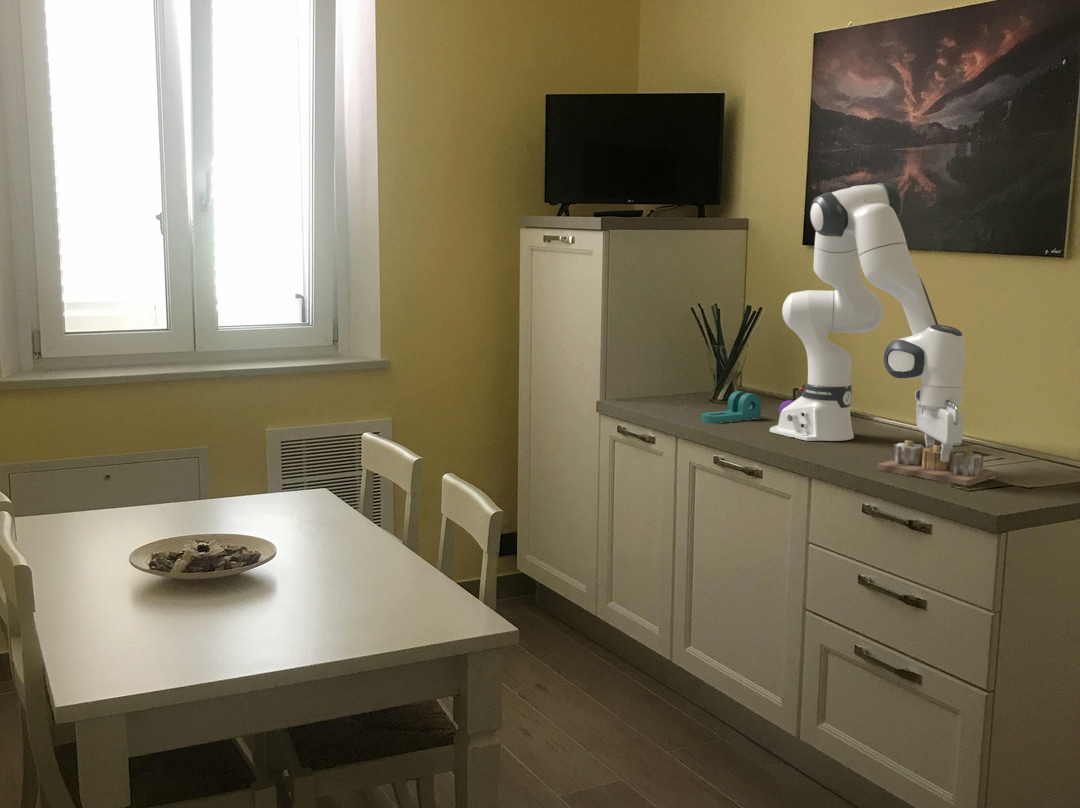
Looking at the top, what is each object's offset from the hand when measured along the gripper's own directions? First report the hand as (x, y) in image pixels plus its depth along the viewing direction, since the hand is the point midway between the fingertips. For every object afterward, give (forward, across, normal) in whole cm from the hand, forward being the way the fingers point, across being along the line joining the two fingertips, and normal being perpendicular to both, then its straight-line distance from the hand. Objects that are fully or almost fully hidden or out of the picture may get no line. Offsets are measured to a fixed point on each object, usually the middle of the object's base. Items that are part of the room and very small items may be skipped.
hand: (937, 457), depth 255 cm
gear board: (+4, 0, 0) cm, 4 cm away
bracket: (+4, +68, +36) cm, 78 cm away
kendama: (+4, +73, +12) cm, 74 cm away
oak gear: (+2, 0, 0) cm, 2 cm away
